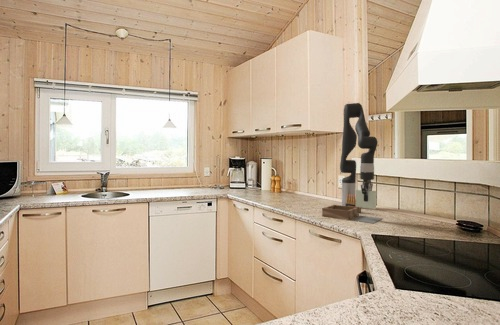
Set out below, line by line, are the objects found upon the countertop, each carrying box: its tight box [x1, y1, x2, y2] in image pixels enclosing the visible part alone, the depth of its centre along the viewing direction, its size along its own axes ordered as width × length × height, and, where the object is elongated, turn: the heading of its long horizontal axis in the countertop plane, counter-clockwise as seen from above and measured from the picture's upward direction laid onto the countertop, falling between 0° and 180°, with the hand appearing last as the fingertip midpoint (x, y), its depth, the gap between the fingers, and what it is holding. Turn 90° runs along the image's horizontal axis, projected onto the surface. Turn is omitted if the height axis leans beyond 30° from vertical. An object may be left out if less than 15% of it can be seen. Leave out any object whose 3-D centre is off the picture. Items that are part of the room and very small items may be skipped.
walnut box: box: [321, 204, 360, 221], centre depth 199 cm, size 16×16×5 cm
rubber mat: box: [350, 215, 383, 225], centre depth 188 cm, size 16×13×1 cm
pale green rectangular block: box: [355, 188, 378, 210], centre depth 188 cm, size 2×11×10 cm, turn 51°
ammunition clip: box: [346, 193, 362, 214], centre depth 212 cm, size 11×2×12 cm, turn 37°
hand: (366, 200), depth 188 cm, fingers closed on pale green rectangular block, 2 cm apart
